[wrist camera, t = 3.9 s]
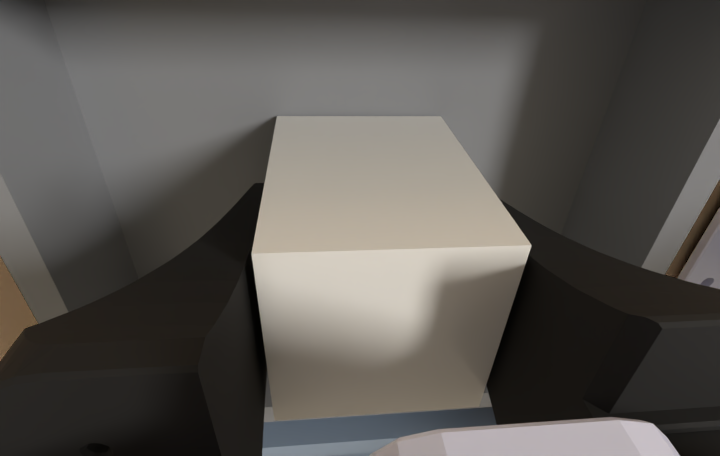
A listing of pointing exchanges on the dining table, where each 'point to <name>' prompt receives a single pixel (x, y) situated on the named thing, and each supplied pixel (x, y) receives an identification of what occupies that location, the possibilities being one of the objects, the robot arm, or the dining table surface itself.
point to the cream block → (380, 267)
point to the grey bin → (341, 98)
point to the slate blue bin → (362, 431)
